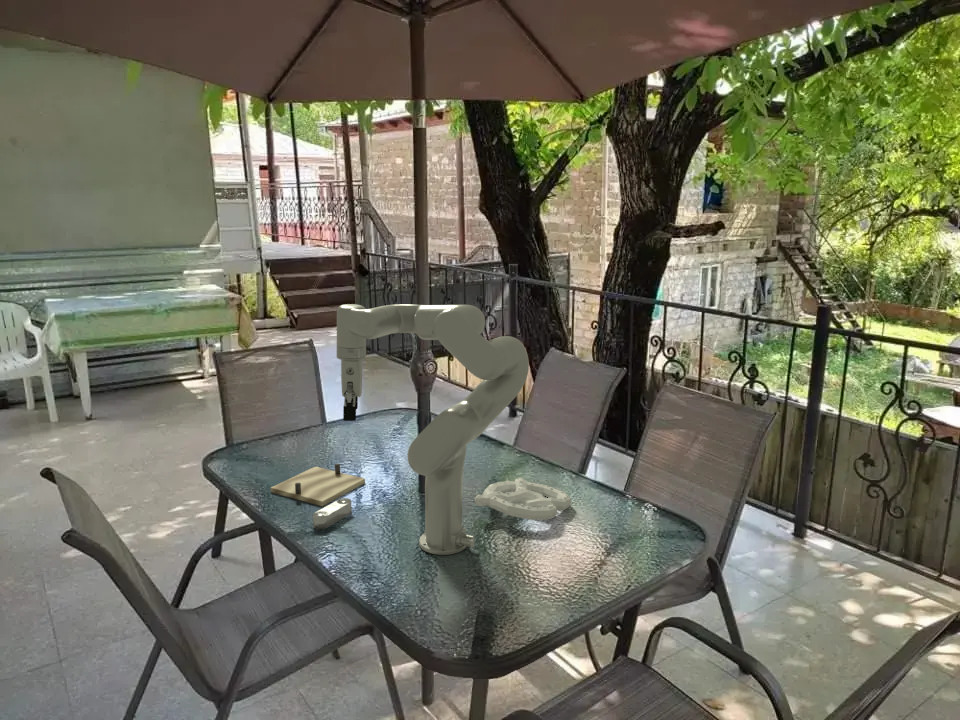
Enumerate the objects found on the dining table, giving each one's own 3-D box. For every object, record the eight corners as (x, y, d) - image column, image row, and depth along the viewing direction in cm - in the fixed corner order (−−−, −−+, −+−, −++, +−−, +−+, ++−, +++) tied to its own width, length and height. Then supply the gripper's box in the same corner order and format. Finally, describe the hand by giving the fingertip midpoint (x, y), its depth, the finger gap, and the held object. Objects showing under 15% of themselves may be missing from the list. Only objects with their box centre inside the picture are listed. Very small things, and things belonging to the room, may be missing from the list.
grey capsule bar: (354, 511, 199) (354, 500, 199) (321, 531, 187) (321, 518, 187) (343, 508, 201) (343, 497, 201) (310, 527, 189) (309, 515, 188)
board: (365, 482, 220) (364, 469, 219) (322, 506, 202) (321, 491, 201) (315, 470, 229) (315, 457, 228) (270, 492, 212) (270, 478, 211)
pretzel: (508, 489, 221) (510, 469, 220) (578, 508, 209) (581, 487, 208) (462, 510, 196) (465, 488, 196) (539, 533, 185) (542, 510, 184)
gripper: (364, 360, 175) (363, 425, 179) (366, 345, 192) (365, 404, 196) (334, 359, 174) (333, 425, 178) (338, 344, 191) (338, 404, 195)
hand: (350, 414), depth 187 cm, fingers open, 9 cm apart
